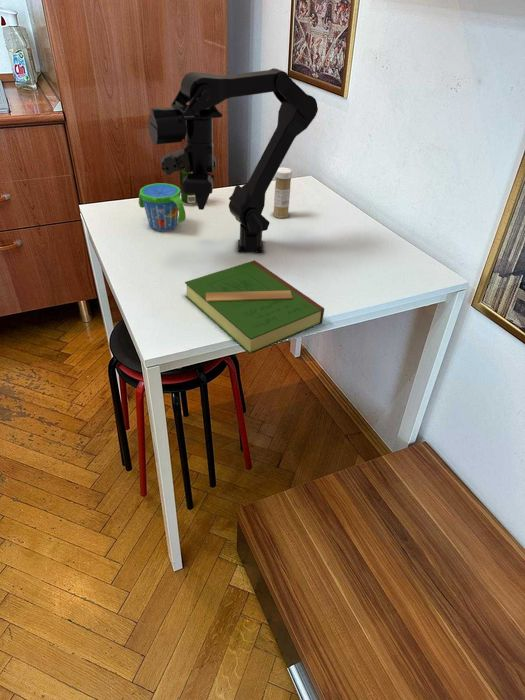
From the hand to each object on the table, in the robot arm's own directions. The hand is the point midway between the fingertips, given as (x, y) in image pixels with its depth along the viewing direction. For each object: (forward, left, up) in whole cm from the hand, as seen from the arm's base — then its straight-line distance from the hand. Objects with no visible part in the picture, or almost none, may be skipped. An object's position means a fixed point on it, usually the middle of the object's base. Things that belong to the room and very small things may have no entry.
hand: (201, 209), depth 118 cm
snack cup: (-17, -12, -13) cm, 24 cm away
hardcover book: (+23, +12, -13) cm, 29 cm away
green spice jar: (-34, -6, -13) cm, 37 cm away
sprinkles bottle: (-27, +21, -13) cm, 36 cm away
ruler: (+24, +11, -9) cm, 28 cm away
